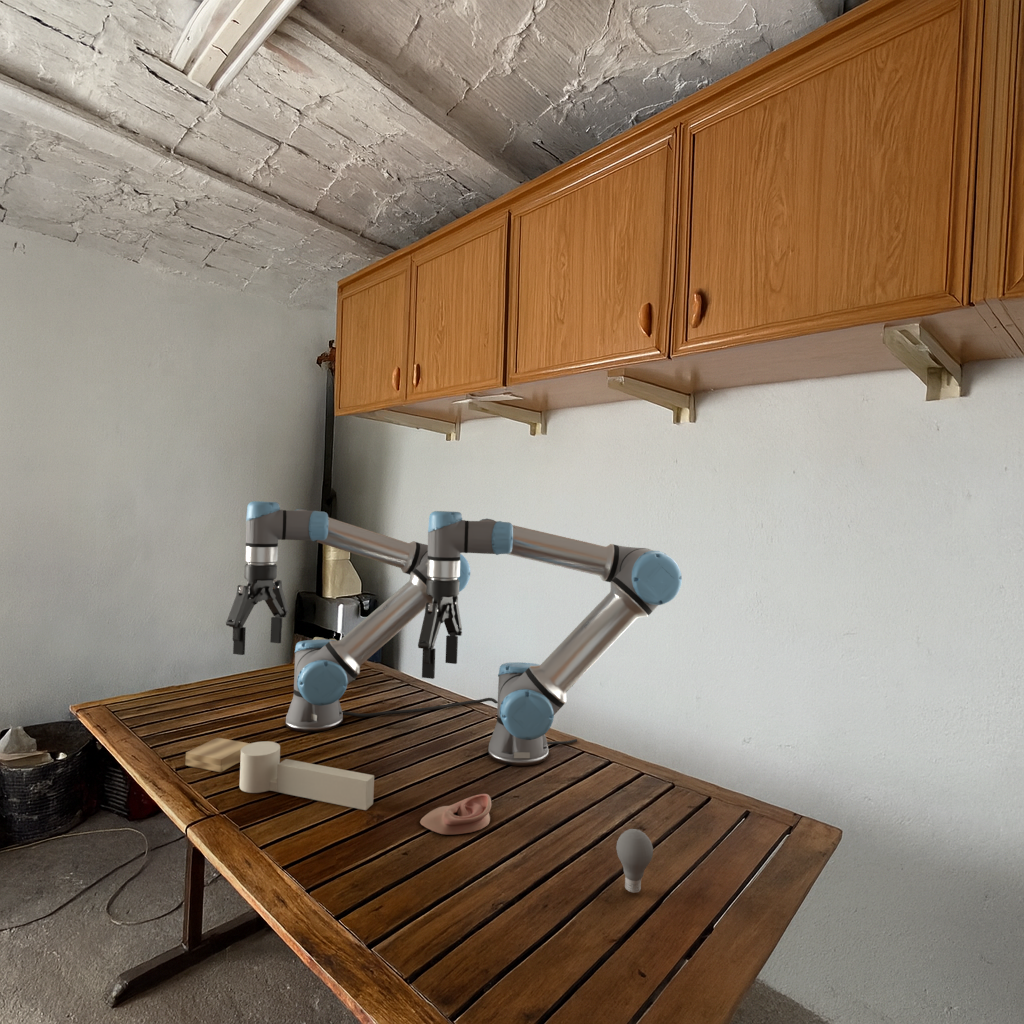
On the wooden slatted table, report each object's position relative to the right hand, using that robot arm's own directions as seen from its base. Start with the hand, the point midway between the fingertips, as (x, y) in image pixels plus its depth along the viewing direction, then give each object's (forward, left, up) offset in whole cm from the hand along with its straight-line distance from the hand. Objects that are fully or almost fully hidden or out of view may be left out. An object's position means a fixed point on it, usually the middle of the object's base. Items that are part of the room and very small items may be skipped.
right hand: (440, 670), depth 146 cm
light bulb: (-15, +54, -25) cm, 61 cm away
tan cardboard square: (+45, -26, -25) cm, 57 cm away
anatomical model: (+4, +21, -25) cm, 33 cm away
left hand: (+36, -32, 0) cm, 48 cm away
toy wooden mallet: (+29, -2, -25) cm, 38 cm away
